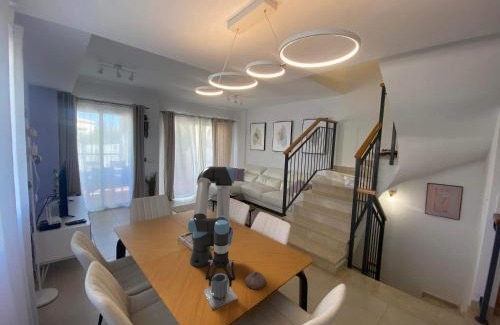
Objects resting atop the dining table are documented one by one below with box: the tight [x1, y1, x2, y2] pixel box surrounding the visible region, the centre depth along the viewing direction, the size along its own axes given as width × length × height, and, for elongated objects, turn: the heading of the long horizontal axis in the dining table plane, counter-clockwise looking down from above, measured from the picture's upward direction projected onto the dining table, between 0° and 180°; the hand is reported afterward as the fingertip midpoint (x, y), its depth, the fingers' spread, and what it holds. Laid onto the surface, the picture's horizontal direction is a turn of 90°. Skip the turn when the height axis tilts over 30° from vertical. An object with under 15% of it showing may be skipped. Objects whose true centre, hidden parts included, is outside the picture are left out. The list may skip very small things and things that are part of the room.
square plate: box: [202, 283, 239, 310], centre depth 109 cm, size 14×14×6 cm
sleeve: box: [212, 272, 228, 297], centre depth 109 cm, size 8×8×8 cm
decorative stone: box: [244, 271, 266, 290], centre depth 120 cm, size 12×12×6 cm
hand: (220, 291), depth 109 cm, fingers closed on sleeve, 8 cm apart
